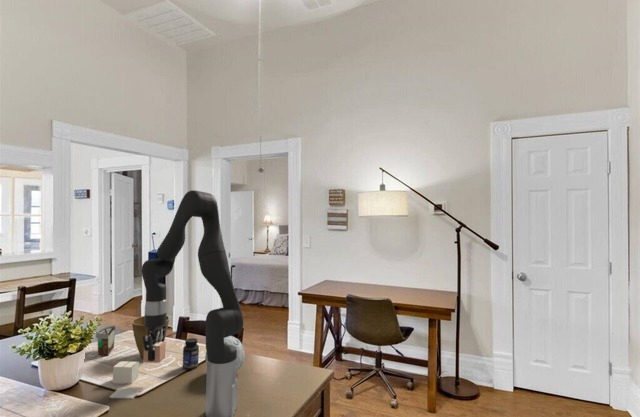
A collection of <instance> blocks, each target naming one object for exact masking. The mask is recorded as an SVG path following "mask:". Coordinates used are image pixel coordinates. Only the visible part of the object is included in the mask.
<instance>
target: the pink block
mask: <svg viewBox="0 0 640 417" xmlns="http://www.w3.org/2000/svg"><path fill="white" fill-rule="evenodd" d="M147 346H148V345H147ZM152 346H153V344H152ZM165 359H166V341H164V342H157V344H156V346H155V360H154V361H148V351H145V350H144V358H143V361H142V362H143V363H144V364H145V363H146V364H148V363H149V364H151V363H155V364H156V363H157V364H159V363H161V362H163V360H165Z"/></svg>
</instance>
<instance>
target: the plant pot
mask: <svg viewBox="0 0 640 417" xmlns="http://www.w3.org/2000/svg"><path fill="white" fill-rule="evenodd" d="M144 319H145V315H142V316H139V317H137V318H134V319H132V321H131V324H132V326H131V327H132V332H133V337H134V341H135V344H136V348H137V350H138V352H139V355H140V357H141V358H142V359H144V342H143V336H146V335H147V332H148V327H146V326H145V325H144ZM169 322H170V316H168V315H167V316H166V324H165V325H164V326H166V333H165V338H166V336H167V333H168V328H169ZM152 342H154V340H152Z"/></svg>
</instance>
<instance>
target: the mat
mask: <svg viewBox="0 0 640 417" xmlns="http://www.w3.org/2000/svg"><path fill="white" fill-rule="evenodd" d="M141 389H142V388H132V387H129V388H128V387H127V388H126V387H125V388H124V387H119V388H118V389H116V390H115V391H114V392H113V393H112V394H111V395H109V397H108V398H109V399H131V400H132V399H134V398H135V397H137V395H138V394H139V393H140V392H141V391H142V390H141ZM140 390H141V391H140ZM139 391H140V392H139ZM138 392H139V393H138ZM137 393H138V394H137ZM136 394H137V395H136Z"/></svg>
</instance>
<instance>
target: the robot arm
mask: <svg viewBox="0 0 640 417" xmlns="http://www.w3.org/2000/svg"><path fill="white" fill-rule="evenodd" d="M192 217H194V218H201V221H202V225H203V235H202V238H201V241H200V243H199V246H198V250H197V258H198V265H199V268H200V272H201V275H202V276H203V277H204V279H205V280H206V281H207V282H208V283H209V284H210V286H211V287H213V289H214V290H215V291H216V293H217V294H218V297H219V298H220V301H221V304H222V307H219V308H215V309H211V310H210V311H209V312H207V314H206V317H205V324H204V325H205V350H206V351H207V365H206V380H205V381H206V385H205V386H206V387H205V389H206V390H205V416H206V417H234V414H235V412H236V411H235V410H237V408H238V382H239V379H238V378H237V372H236V367H237V349H236V347H234V346H232V345H229V344H224V337H228V336H235V335H238V334H240V333H241V332H242V330H243V328H244V316H243V312H242V308H241V306H240V305H241V304H240V302H239V300H238V299H239V298H238V296H237V293H236V290H235V286H234V283H233V278H232V275H231V271H230V266H229V259H228V256H227V252H226V248H225V245H224V244H225V243H224V239H223V235H222V230H221V223H220V213H219V206H218V201H217V199H216V196H214V194H212V193H210V192H205V191H200V190H194V189H193V190H192V189H191V190H189V191H187V192H186V193H185V194H184V196H183V197H182V199H181V201H180V203H179V206H178V207H177V211H176V213H175V215H174V218H173V220H172V222H171V226H170V227H169V230H168V231H167V234H166V236H165V237H164V238H163V239H162V242H161V243H160V244H159V247H158V248H157V250H156V255H157V257H158V258H153V259H147V260H145V261H144V262H143V264H142V266H141V276H142V281H143V284H144V288H145V304H144V316H145V319H144V325H145V326H146V327H148V332H147V335H146V336H143V342H144V350H145V351H148V361H154V360H155V346H156V344H157V342H165V340H166V337H165V333H166V326H164V325H165V324H166V316H168V314H167V313H168V310H167V308H168V307H167V306H168V305H167V303H168V302H167V284H165V283H161V282H158V278H163V277H167V276H169V274H170V273H171V272H172V270H173V268H174V263H175V261H176V258H177V256H178V255H179V253H180V252H181V250H182V248H183V246H185V245H184V244H185V243H186V242H185V241H186V226H187V224H188V222H190V219H191V218H192ZM166 334H167V333H166ZM152 340H154V342H152ZM152 344H153V346H152ZM147 345H148V346H147Z"/></svg>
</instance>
